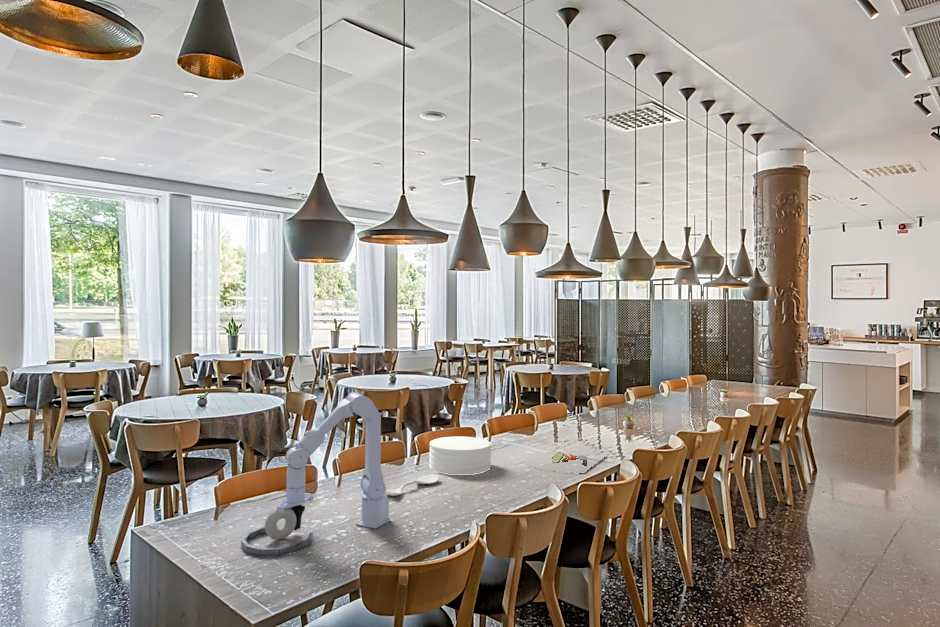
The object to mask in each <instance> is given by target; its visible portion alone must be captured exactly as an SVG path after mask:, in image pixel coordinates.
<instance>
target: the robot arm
mask: <svg viewBox="0 0 940 627" xmlns="http://www.w3.org/2000/svg"><path fill="white" fill-rule="evenodd" d="M353 413H354V414H355V415H358V416H359V417H361V418H362V419H363V420H364V421H365V424H364V425H365V428H364V429H365V430H364V433H365V434H364V436H365V437H364V438H365V439H364V444H365V445H364V448H365V449H364V450H365V451H364V469H363V472H362V478H361V479H360V482H359V483H360V484H359V485H360V488H361V489H362V491H363V492H362V494H361V519H360V520H359V521H357V522H356V523H355V525H357V526H362V527H366V528H372V529H378V528H379V527H381V526H383V525H385V524H387V523H389V521H391V520H392V518H391V517H390V499H389V497H388V495H386V494H385V491H386V490H387V486H386V483H385V482H384V474H383V470H382V468H381V467H382V466H381V464H382V463H381V462H382V461H381V460H382V459H381V458H382V457H381V456H382V455H381V451H382V448H381V446H382V444H381V442H382V441H381V440H382V438H381V436H382V430H381V429H382V422H381V421H382V416H381V413H380V412H379V410H378V408H377V407H376V405H375V404H374V402H373V399H372V400H371V399H370V398H369V397H368V396H365V395H363V394H361V393H360V392H357V391H353V392H350V393H348V394H347V396H345V398H343V399H342V400H340V402H339V403H338V404H337V406H336V407H335V408H333V410H332V411H331V412H330V414H329V415H328V416H326V418H325V419H324V420H323V421H322V423H320V425H318V427H316V428H310V430H306V431H305V432H304V434H305V435H304V436H303V437H301V439H300V440H299V441H298V442H295V443H294V444H293V447H290V448H289V449H288V450H287V451H286V455H285V456H284V458H285V461H286V463H287V467H286V470H287V471H286V482H285V484H286V485H285V486H286V487H285V488H286V489H285V490H286V492H285V494H286V495H285V497H286V498H285V497H284V498H283V502H282V503H281V504H279V505H277V506H276V509H277V511H278V512H279V513H284V509H285V508H290V509H292V510H293V511H294V513H295V514H296V519H297V521H296V526H295V528H294V530H293V531H297V530H300V529H301V526H302V515H303V513H304V512H305V510H306V505H304V504H305V503H308V502H311V501H312V502H313V500H314V493H306V465H307V464H308V462H309V461H308V460H309V457H311V456H312V455H313V454H314V453H315V452H316V451H317V450H318V449H319V447H320V446H321V445H322V444H324V442H325V438H326V434H328V433H330V431H331V430H332V429H333V428H334V427H336V426H337V424H338V423H339V422H340V421H342V419H344V418H345V419H346V418H350V417H354V414H353Z"/></svg>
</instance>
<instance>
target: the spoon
mask: <svg viewBox="0 0 940 627" xmlns="http://www.w3.org/2000/svg"><path fill="white" fill-rule="evenodd" d="M439 480H441V477H440V475H439V474H438V475H437V474H434V473H433V474H432V473H431V474H425V475H424V476H420V477H419V478H418V477H417V479H416V478H415V479H413V480H408V481H407V482H405V483H403V484H402V485H401V486H400V487H398V488H396V489H386V491H385V495H386V496H393V497H396V496H400V495H402V492H403V490H404V489H405V487H407V486H409V485H414V484H419V485H425V484H428V485H432V484H435V483H437V482H439Z"/></svg>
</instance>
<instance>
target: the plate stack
mask: <svg viewBox="0 0 940 627" xmlns="http://www.w3.org/2000/svg"><path fill="white" fill-rule="evenodd" d="M491 447H492V442H491V441H489V440H487V439H484V438H482V437H481V438H480V437H474V436H462V435H461V436H444V437H438V438H435V439H432V440H430V441H429V455H428V456H429V460H428V461H429V466H428V467H430V468H431V469H433V470H435V471H437V472H442V473H448V474H474V473H480V472H483V471H486V470H488V469H489V468H490V467H491V468H492V465H491V464H492V463H491V462H492V460H491V458H492V455H491V454H492V448H491Z"/></svg>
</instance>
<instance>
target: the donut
mask: <svg viewBox="0 0 940 627" xmlns="http://www.w3.org/2000/svg"><path fill="white" fill-rule="evenodd" d="M281 519H284V520H285V522H284V525H283V526H282V527H279V528H278V526H277V527H276V525H277V523H278V522H279V520H281ZM296 521H297V519H296V514H295V513H294V511H293V510H292V509H290V508H285V509H284V513H279V512H278V511H277V508H275V509H274V510H272V511H271V512H270V513H269V514H268V516H267V517H266V520H265V521H264V522H265V523H264V527H265V532H266V534H265V535H267V537H269V539H271V540H274V541H279V540H280V541H281V540H284V539H286V538H288V537H289V536H290V535H291V534H292V533H293V531H295V530H294V528H295V526H296Z"/></svg>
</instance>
